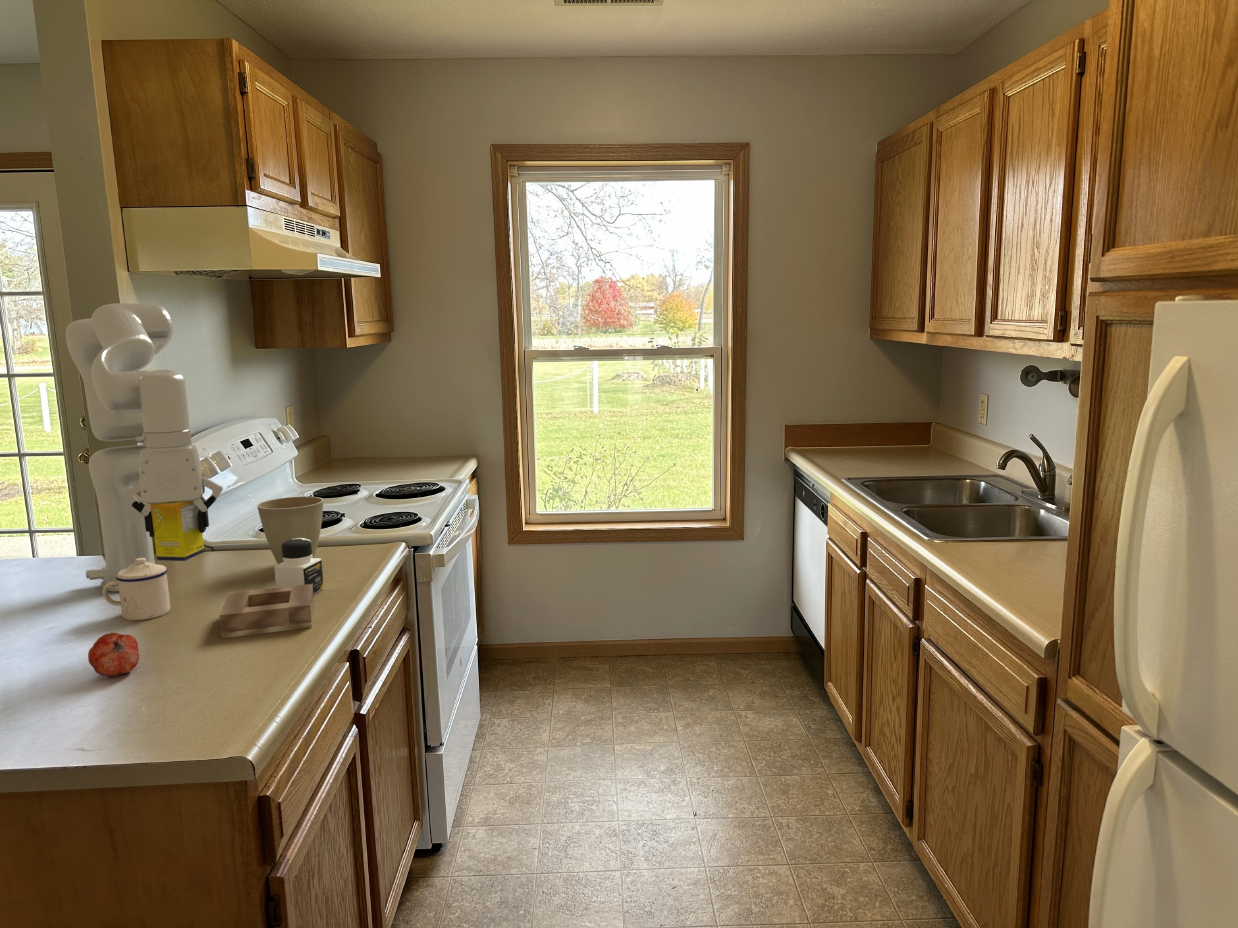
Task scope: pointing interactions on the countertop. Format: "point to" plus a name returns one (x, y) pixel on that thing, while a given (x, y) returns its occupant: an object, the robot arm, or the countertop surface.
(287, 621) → the wooden square frame
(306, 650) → the countertop surface
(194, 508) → the supplement box
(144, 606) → the teacup with lid
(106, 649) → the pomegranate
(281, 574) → the medicine bottle
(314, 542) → the plant pot
